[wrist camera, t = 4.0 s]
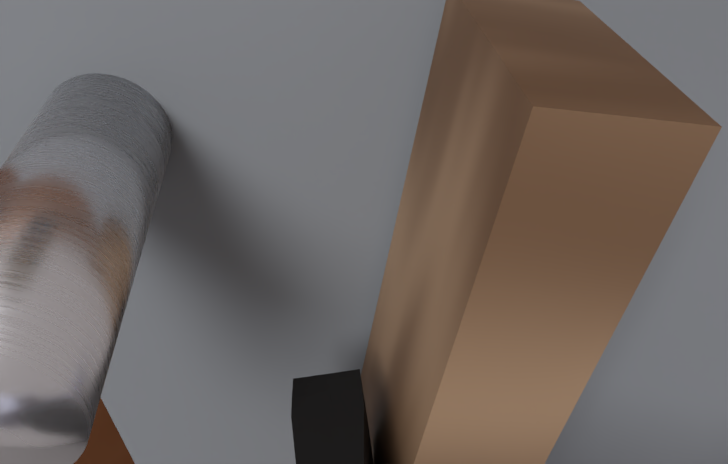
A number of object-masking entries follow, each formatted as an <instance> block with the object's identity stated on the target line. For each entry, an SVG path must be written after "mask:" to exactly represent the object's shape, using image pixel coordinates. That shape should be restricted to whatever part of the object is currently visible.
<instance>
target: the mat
mask: <svg viewBox="0 0 728 464" xmlns="http://www.w3.org/2000/svg"><path fill="white" fill-rule="evenodd" d="M577 1H580V2H581V3H583V4H584V5H585V6H586V7H587V8H588V9H589V10H590V11H592V12H593V13H594V14H595V15H596V16H597V17H598V18H600V19H601V20H602V21H603V22H604V23H605V24H606V25H607V26H609V27H610V28H611V29H612V30H613V31H614V32H615V33H616V34H618V35H619V36H620V37H621V38H622V39H623V40H624V41H625V42H627V43H628V44H629V45H630V46H631V47H632V48H633V49H635V50H636V51H637V52H638V53H639V54H640V55H641V56H642V57H644V58H645V59H646V60H647V61H648V62H649V63H650V64H651V65H653V66H654V67H655V68H656V69H657V70H658V71H659V72H661V73H662V74H663V75H664V76H665V77H666V78H667V79H668V80H670V81H671V82H672V83H673V84H674V85H675V86H676V87H677V88H679V89H680V90H681V91H682V92H683V93H684V94H685V95H686V96H688V97H689V98H690V99H691V100H692V101H693V102H694V103H696V104H697V105H698V106H699V107H700V108H701V109H702V110H703V111H705V112H706V113H707V114H708V115H709V116H710V117H711V118H712V119H714V120H715V121H716V122H717V123H718V124H719V125H720V126H722V128H721V130H720V132H719V133H718V135H717V137H716V139H715V141H714V143H713V145H712V147H711V149H710V151H709V152H708V154H707V156H706V158H705V160H704V162H703V164H702V166H701V168H700V169H699V171H698V173H697V175H696V177H695V179H694V181H693V183H692V185H691V187H690V188H689V190H688V192H687V194H686V196H685V198H684V200H683V202H682V204H681V206H680V207H679V209H678V211H677V213H676V215H675V217H674V219H673V221H672V223H671V225H670V226H669V228H668V230H667V232H666V234H665V236H664V238H663V240H662V242H661V244H660V245H659V247H658V249H657V251H656V253H655V255H654V257H653V259H652V261H651V263H650V264H649V266H648V268H647V270H646V272H645V274H644V276H643V278H642V280H641V282H640V283H639V285H638V287H637V289H636V291H635V293H634V295H633V297H632V299H631V301H630V302H629V304H628V306H627V308H626V310H625V312H624V314H623V316H622V318H621V320H620V321H619V323H618V325H617V327H616V329H615V331H614V333H613V335H612V337H611V338H610V340H609V342H608V344H607V346H606V348H605V350H604V352H603V354H602V356H601V357H600V359H599V361H598V363H597V365H596V367H595V369H594V371H593V373H592V375H591V376H590V378H589V380H588V382H587V384H586V386H585V388H584V390H583V392H582V394H581V395H580V397H579V399H578V401H577V403H576V405H575V407H574V409H573V411H572V413H571V414H570V416H569V418H568V420H567V422H566V424H565V426H564V428H563V430H562V432H561V433H560V435H559V437H558V439H557V441H556V443H555V445H554V447H553V449H552V451H551V452H550V454H549V456H548V458H547V460H546V462H545V464H728V0H577ZM445 2H446V0H0V168H1V167H2V165H3V164H4V162H5V161H6V159H7V158H8V156H9V155H10V153H11V152H12V150H13V149H14V147H15V146H16V144H17V143H18V141H19V140H20V138H21V137H22V136H23V134H24V133H25V131H26V130H27V128H28V127H29V125H30V124H31V122H32V121H33V119H34V118H35V116H36V115H37V113H38V112H39V110H40V109H41V107H42V106H43V104H44V103H45V101H46V100H47V98H48V97H49V96H50V94H51V93H52V91H53V90H54V89H55V88H56V87H57V86H59V85H60V84H62V83H63V82H64V81H66V80H68V79H70V78H73V77H76V76H79V75H84V74H94V73H99V74H109V75H114V76H118V77H121V78H124V79H127V80H129V81H131V82H133V83H135V84H137V85H139V86H140V87H142V88H143V89H145V90H146V91H147V92H148V93H150V94H151V95H152V96H153V97H154V98H155V99H156V100H157V101H158V102H159V104H160V105H161V106H162V108H163V109H164V111H165V113H166V115H167V117H168V119H169V122H170V124H171V129H172V137H173V140H172V148H171V152H170V156H169V159H168V163H167V166H166V170H165V173H164V177H163V180H162V184H161V187H160V191H159V194H158V198H157V201H156V205H155V208H154V212H153V215H152V219H151V222H150V226H149V229H148V233H147V236H146V240H145V243H144V247H143V250H142V254H141V257H140V260H139V264H138V267H137V271H136V274H135V278H134V281H133V285H132V288H131V292H130V295H129V299H128V302H127V306H126V309H125V313H124V316H123V320H122V323H121V327H120V330H119V334H118V337H117V341H116V344H115V348H114V351H113V355H112V358H111V362H110V365H109V369H108V372H107V376H106V379H105V383H104V386H103V390H102V393H101V399H102V401H103V403H104V405H105V406H106V408H107V410H108V412H109V414H110V416H111V418H112V420H113V422H114V424H115V426H116V428H117V430H118V432H119V433H120V435H121V437H122V439H123V441H124V443H125V445H126V447H127V449H128V451H129V453H130V455H131V457H132V459H133V460H134V462H135V464H296V459H295V450H294V440H293V430H292V420H291V407H292V388H293V379H294V378H301V377H308V376H315V375H322V374H329V373H336V372H343V371H350V370H357V369H360V374H361V373H362V368H363V364H364V359H365V355H366V351H367V346H368V342H369V337H370V333H371V329H372V324H373V320H374V315H375V311H376V306H377V302H378V298H379V293H380V289H381V284H382V280H383V276H384V271H385V267H386V262H387V258H388V253H389V249H390V245H391V240H392V236H393V231H394V227H395V223H396V218H397V214H398V209H399V205H400V201H401V196H402V192H403V187H404V183H405V178H406V174H407V170H408V165H409V161H410V156H411V152H412V148H413V143H414V139H415V134H416V130H417V125H418V121H419V117H420V112H421V108H422V103H423V99H424V95H425V90H426V86H427V81H428V77H429V73H430V68H431V64H432V59H433V55H434V50H435V46H436V42H437V37H438V33H439V28H440V24H441V20H442V15H443V11H444V6H445Z"/></svg>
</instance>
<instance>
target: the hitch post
mask: <svg viewBox="0 0 728 464" xmlns="http://www.w3.org/2000/svg"><path fill="white" fill-rule="evenodd" d="M172 140H173V137H172V129H171V124H170V122H169V119H168V117H167V115H166V113H165V111H164V109H163V108H162V106H161V105H160V104H159V102H158V101H157V100H156V99H155V98H154V97H153V96H152V95H151V94H150V93H148V92H147V91H146V90H145V89H143V88H142V87H140V86H139V85H137V84H135V83H133V82H131V81H129V80H127V79H124V78H121V77H118V76H114V75H109V74H99V73H94V74H84V75H79V76H76V77H73V78H70V79H68V80H66V81H64V82H63V83H62V84H60V85H59V86H57V87H56V88H55V89H54V90H53V91H52V93H51V94H50V96H49V97H48V98H47V100H46V101H45V103H44V104H43V106H42V107H41V109H40V110H39V112H38V113H37V115H36V116H35V118H34V119H33V121H32V122H31V124H30V125H29V127H28V128H27V130H26V131H25V133H24V134H23V136H22V137H21V138H20V140H19V141H18V143H17V144H16V146H15V147H14V149H13V150H12V152H11V153H10V155H9V156H8V158H7V159H6V161H5V162H4V164H3V165H2V167H1V168H0V464H73V463H74V462H75V461H76V460H77V459H78V458H79V457H80V456H81V454H82V453H83V452H84V449H85V447H86V445H87V442H88V439H89V435H90V432H91V428H92V425H93V421H94V418H95V414H96V411H97V407H98V404H99V400H100V397H101V393H102V390H103V386H104V383H105V379H106V376H107V372H108V369H109V365H110V362H111V358H112V355H113V351H114V348H115V344H116V341H117V337H118V334H119V330H120V327H121V323H122V320H123V316H124V313H125V309H126V306H127V302H128V299H129V295H130V292H131V288H132V285H133V281H134V278H135V274H136V271H137V267H138V264H139V260H140V257H141V254H142V250H143V247H144V243H145V240H146V236H147V233H148V229H149V226H150V222H151V219H152V215H153V212H154V208H155V205H156V201H157V198H158V194H159V191H160V187H161V184H162V180H163V177H164V173H165V170H166V166H167V163H168V159H169V156H170V152H171V148H172Z"/></svg>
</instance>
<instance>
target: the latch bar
mask: <svg viewBox="0 0 728 464" xmlns="http://www.w3.org/2000/svg"><path fill="white" fill-rule="evenodd" d="M721 128H722V126H720V125H719V124H718V123H717V122H716V121H715V120H714V119H712V118H711V117H710V116H709V115H708V114H707V113H706V112H705V111H703V110H702V109H701V108H700V107H699V106H698V105H697V104H696V103H694V102H693V101H692V100H691V99H690V98H689V97H688V96H686V95H685V94H684V93H683V92H682V91H681V90H680V89H679V88H677V87H676V86H675V85H674V84H673V83H672V82H671V81H670V80H668V79H667V78H666V77H665V76H664V75H663V74H662V73H661V72H659V71H658V70H657V69H656V68H655V67H654V66H653V65H651V64H650V63H649V62H648V61H647V60H646V59H645V58H644V57H642V56H641V55H640V54H639V53H638V52H637V51H636V50H635V49H633V48H632V47H631V46H630V45H629V44H628V43H627V42H625V41H624V40H623V39H622V38H621V37H620V36H619V35H618V34H616V33H615V32H614V31H613V30H612V29H611V28H610V27H609V26H607V25H606V24H605V23H604V22H603V21H602V20H601V19H600V18H598V17H597V16H596V15H595V14H594V13H593V12H592V11H590V10H589V9H588V8H587V7H586V6H585V5H584V4H583V3H581V2H580V1H577V0H446V2H445V6H444V11H443V15H442V20H441V24H440V28H439V33H438V37H437V42H436V46H435V50H434V55H433V59H432V64H431V68H430V73H429V77H428V81H427V86H426V90H425V95H424V99H423V103H422V108H421V112H420V117H419V121H418V125H417V130H416V134H415V139H414V143H413V148H412V152H411V156H410V161H409V165H408V170H407V174H406V178H405V183H404V187H403V192H402V196H401V201H400V205H399V209H398V214H397V218H396V223H395V227H394V231H393V236H392V240H391V245H390V249H389V253H388V258H387V262H386V267H385V271H384V276H383V280H382V284H381V289H380V293H379V298H378V302H377V306H376V311H375V315H374V320H373V324H372V329H371V333H370V337H369V342H368V346H367V351H366V355H365V359H364V364H363V368H362V373H361V381H362V387H363V394H364V400H365V407H366V413H367V420H368V426H369V433H370V440H371V447H372V455H373V463H374V464H545V462H546V460H547V458H548V456H549V454H550V452H551V451H552V449H553V447H554V445H555V443H556V441H557V439H558V437H559V435H560V433H561V432H562V430H563V428H564V426H565V424H566V422H567V420H568V418H569V416H570V414H571V413H572V411H573V409H574V407H575V405H576V403H577V401H578V399H579V397H580V395H581V394H582V392H583V390H584V388H585V386H586V384H587V382H588V380H589V378H590V376H591V375H592V373H593V371H594V369H595V367H596V365H597V363H598V361H599V359H600V357H601V356H602V354H603V352H604V350H605V348H606V346H607V344H608V342H609V340H610V338H611V337H612V335H613V333H614V331H615V329H616V327H617V325H618V323H619V321H620V320H621V318H622V316H623V314H624V312H625V310H626V308H627V306H628V304H629V302H630V301H631V299H632V297H633V295H634V293H635V291H636V289H637V287H638V285H639V283H640V282H641V280H642V278H643V276H644V274H645V272H646V270H647V268H648V266H649V264H650V263H651V261H652V259H653V257H654V255H655V253H656V251H657V249H658V247H659V245H660V244H661V242H662V240H663V238H664V236H665V234H666V232H667V230H668V228H669V226H670V225H671V223H672V221H673V219H674V217H675V215H676V213H677V211H678V209H679V207H680V206H681V204H682V202H683V200H684V198H685V196H686V194H687V192H688V190H689V188H690V187H691V185H692V183H693V181H694V179H695V177H696V175H697V173H698V171H699V169H700V168H701V166H702V164H703V162H704V160H705V158H706V156H707V154H708V152H709V151H710V149H711V147H712V145H713V143H714V141H715V139H716V137H717V135H718V133H719V132H720V130H721Z"/></svg>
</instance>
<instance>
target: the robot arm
mask: <svg viewBox="0 0 728 464" xmlns="http://www.w3.org/2000/svg"><path fill="white" fill-rule="evenodd" d="M291 420H292V430H293V440H294V450H295V459H296V464H374V463H373V455H372V447H371V440H370V433H369V426H368V420H367V413H366V407H365V400H364V394H363V387H362V381H361V374H360V369H357V370H350V371H343V372H336V373H329V374H322V375H315V376H308V377H301V378H294V379H293V388H292V407H291Z"/></svg>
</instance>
